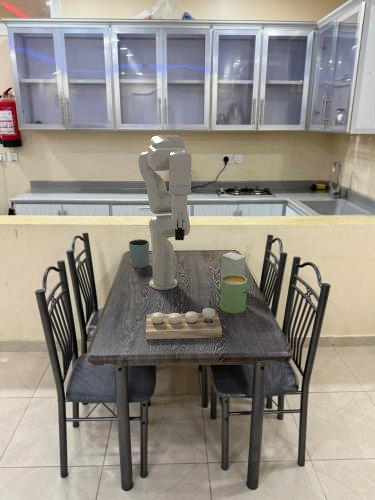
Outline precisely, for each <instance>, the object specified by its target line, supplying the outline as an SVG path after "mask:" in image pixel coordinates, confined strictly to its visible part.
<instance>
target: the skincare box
mask: <svg viewBox="0 0 375 500" xmlns="http://www.w3.org/2000/svg"><path fill="white" fill-rule="evenodd" d="M221 257H222V258H221V269H220V270H221V272H220V279H221V278H222V277H223V276H225V275H230V274H236V275H241V276H244V277H245V267H246V256H243V255H241V254H239V253H236V252H233V251H229V252H227V253H223V254H222V255H221ZM219 288H220V289H221V282H220V283H219Z"/></svg>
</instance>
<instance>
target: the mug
mask: <svg viewBox="0 0 375 500" xmlns="http://www.w3.org/2000/svg"><path fill="white" fill-rule="evenodd" d="M220 283H221V288H220V298H219V299H220V300H219V301H220V302H219V303H220V305H219V306H220V307H219V308H220V309H221V311H223V312H225V313H228V314H239V313H243V312H244V311H245V310H246V309H247V295H248V294H247V291H248V278H247V277H245V275H244V276H241V275H236V274H230V275H225V276H223V277H222V278H221V277H220Z"/></svg>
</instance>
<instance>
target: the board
mask: <svg viewBox="0 0 375 500" xmlns="http://www.w3.org/2000/svg"><path fill="white" fill-rule="evenodd" d="M197 313H198V321H197V322H194V324H189V322H187V321H186V320H185V314H186V313H179V314H180V315H181V322H180V323H178V324H171V323H169V321H168V316H169V314H170V313H163V314H164V321H163V322H162V323H161V325H155V323H153V322H152V321H151V315H152V314H153V313H151V314H147V313H146V320H145V321H146V322H145V340H169V339H170V340H171V339H172V340H173V339H205V338H223V337H222V335H223V328H222V325H221V321H220V317H219V313H218V312H215V317H214V318H211V323H206V318H204V317H203V316H202V312H197Z"/></svg>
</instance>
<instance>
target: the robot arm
mask: <svg viewBox="0 0 375 500" xmlns="http://www.w3.org/2000/svg"><path fill="white" fill-rule="evenodd" d="M192 159H193V158H192V154H191V153H190V152H189V150H188V149H187V148H185V141H184V139H183V137H181V136H180V135H176V134H173V135H172V134H171V135H168V134H167V135H164V134H163V135H161V134H160V135H159V134H158V135H155V136H153V137H152V138H151V139H149V141H148V149H147V151H145V152H141V153H140V154H139V156H138V160H137V161H138V162H137V163H138V169H139V172H140V175H141V178H142V179H143V181H144V183H145V185H146V186H145V187H146V192H147V197H148V198H147V199H148V204H149V205H148V206H149V209H150V211H151V213H152V214H154V215H156V216H153V217H151V218H150V219H149V222H148V229H149V234H150V240H151V263H152V265H151V269H152V279H149V280H150V281H149V283H148V284H149V287H150V288H152V289H154V290H159V291H168V290H172V289H175V288H176V287H177V286H178V283H179V282H178V280H177V279H176V278H175V252H174V251H175V250H174V244H173V243H172V242H171V241H170V240H169V238H174V241H184V240H185V236H189V234H190V231H191V223H190V217H189V216H190V215H189V212H188V196H190V195H191V193H192ZM162 171H164V172H165V171H168V190H167V185H166V184H167V183H166V181H165V180H164V178H163V177H162V176H161V175H160V174H158V173H157V172H162Z"/></svg>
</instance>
